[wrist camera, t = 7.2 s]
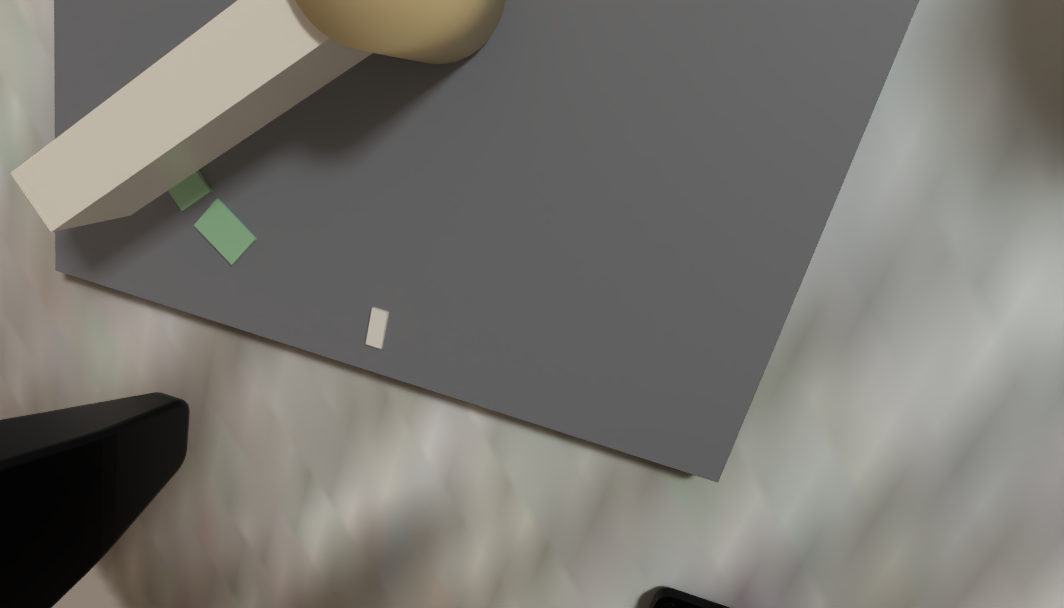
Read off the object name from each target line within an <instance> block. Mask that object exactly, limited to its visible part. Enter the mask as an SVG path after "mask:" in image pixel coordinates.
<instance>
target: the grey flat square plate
mask: <svg viewBox="0 0 1064 608" xmlns="http://www.w3.org/2000/svg"><path fill="white" fill-rule="evenodd" d="M236 1H237V0H54V33H55V139H56V138H57V137H58V136H60V135H61V134H62V133H64V132H65V131H66V130H68V129H69V128H70V127H72V126H73V125H74V124H75V123H77V122H78V121H79V120H81V119H82V118H83V117H85V116H86V115H87V114H89V113H90V112H91V111H93V110H94V109H95V108H96V107H98V106H99V105H100V104H102V103H103V102H104V101H106V100H107V99H108V98H110V97H111V96H112V95H114V94H115V93H116V92H118V91H119V90H120V89H121V88H123V87H124V86H125V85H127V84H128V83H129V82H131V81H132V80H133V79H135V78H136V77H137V76H139V75H140V74H141V73H142V72H144V71H145V70H146V69H148V68H149V67H150V66H152V65H153V64H154V63H156V62H157V61H158V60H160V59H161V58H162V57H164V56H165V55H166V54H167V53H169V52H170V51H171V50H173V49H174V48H175V47H177V46H178V45H179V44H181V43H182V42H183V41H185V40H186V39H187V38H188V37H190V36H191V35H192V34H194V33H195V32H196V31H198V30H199V29H200V28H202V27H203V26H204V25H206V24H207V23H208V22H210V21H211V20H212V19H213V18H215V17H216V16H217V15H219V14H220V13H221V12H223V11H224V10H225V9H227V8H228V7H229V6H231V5H232V4H233V3H234V2H236ZM918 2H919V0H506V1H505V6H504V10H503V13H502V16H501V19H500V21H499V23H498V25H497V27H496V29H495V31H494V32H493V34H492V35H491V37H490V38H489V39H488V40H487V42H486V43H485V44H484V45H483V46H482V47H481V48H480V49H478V50H477V51H476V52H474V53H473V54H472V55H470V56H468V57H466V58H464V59H462V60H459V61H456V62H453V63H448V64H428V63H423V62H418V61H413V60H408V59H402V58H397V57H392V56H387V55H382V54H376V53H372V54H371V55H369V56H368V57H366V58H365V59H363V60H362V61H360V62H359V63H357V64H356V65H354V66H353V67H351V68H350V69H348V70H347V71H345V72H344V73H343V74H341V75H340V76H338V77H337V78H335V79H334V80H332V81H331V82H329V83H328V84H326V85H325V86H323V87H322V88H320V89H319V90H317V91H316V92H314V93H313V94H311V95H310V96H308V97H307V98H305V99H304V100H302V101H301V102H299V103H298V104H296V105H295V106H293V107H292V108H290V109H289V110H287V111H286V112H284V113H283V114H281V115H280V116H278V117H277V118H275V119H274V120H272V121H271V122H269V123H268V124H266V125H265V126H263V127H262V128H260V129H259V130H257V131H256V132H254V133H253V134H251V135H250V136H248V137H247V138H245V139H244V140H242V141H241V142H239V143H238V144H237V145H235V146H234V147H232V148H231V149H229V150H228V151H226V152H225V153H223V154H222V155H220V156H219V157H217V158H216V159H214V160H213V161H211V162H210V163H208V164H207V165H205V166H204V167H202V168H201V169H199V170H198V171H196V172H195V173H193V174H192V175H190V176H189V177H187V178H186V179H184V180H183V181H181V182H180V183H178V184H177V185H175V186H174V187H172V188H171V189H169V190H168V191H166V192H165V193H163V194H162V195H160V196H159V197H157V198H156V199H154V200H153V201H151V202H150V203H148V204H147V205H145V206H144V207H142V208H141V209H139V210H138V211H136V212H135V213H133V214H132V215H131V216H126V217H121V218H116V219H112V220H107V221H102V222H97V223H92V224H88V225H83V226H78V227H73V228H69V229H64V230H59V231H55V249H56V271H59V272H62V273H65V274H68V275H72V276H75V277H78V278H81V279H84V280H87V281H90V282H93V283H97V284H100V285H103V286H106V287H109V288H112V289H115V290H118V291H122V292H125V293H128V294H131V295H134V296H137V297H140V298H143V299H147V300H150V301H153V302H156V303H159V304H162V305H165V306H168V307H171V308H175V309H178V310H181V311H184V312H187V313H190V314H193V315H196V316H200V317H203V318H206V319H209V320H212V321H215V322H218V323H221V324H225V325H228V326H231V327H234V328H237V329H240V330H243V331H246V332H250V333H253V334H256V335H259V336H262V337H265V338H268V339H271V340H275V341H278V342H281V343H284V344H287V345H290V346H293V347H296V348H300V349H303V350H306V351H309V352H312V353H315V354H318V355H321V356H325V357H328V358H331V359H334V360H337V361H340V362H343V363H346V364H350V365H353V366H356V367H359V368H362V369H365V370H368V371H371V372H374V373H378V374H381V375H384V376H387V377H390V378H393V379H396V380H399V381H403V382H406V383H409V384H412V385H415V386H418V387H421V388H424V389H428V390H431V391H434V392H437V393H440V394H443V395H446V396H449V397H453V398H456V399H459V400H462V401H465V402H468V403H471V404H474V405H478V406H481V407H484V408H487V409H490V410H493V411H496V412H499V413H503V414H506V415H509V416H512V417H515V418H518V419H521V420H524V421H528V422H531V423H534V424H537V425H540V426H543V427H546V428H549V429H553V430H556V431H559V432H562V433H565V434H568V435H571V436H574V437H577V438H581V439H584V440H587V441H590V442H593V443H596V444H599V445H602V446H606V447H609V448H612V449H615V450H618V451H621V452H624V453H627V454H631V455H634V456H637V457H640V458H643V459H646V460H649V461H652V462H656V463H659V464H662V465H665V466H668V467H671V468H674V469H677V470H681V471H684V472H687V473H690V474H693V475H696V476H699V477H702V478H706V479H709V480H712V481H715V482H718V481H719V479H720V476H721V474H722V472H723V469H724V467H725V464H726V462H727V460H728V457H729V455H730V452H731V450H732V448H733V445H734V443H735V440H736V438H737V436H738V433H739V431H740V428H741V426H742V424H743V421H744V419H745V416H746V414H747V412H748V409H749V407H750V404H751V402H752V400H753V397H754V395H755V392H756V390H757V388H758V385H759V383H760V381H761V378H762V376H763V373H764V371H765V369H766V366H767V364H768V361H769V359H770V357H771V354H772V352H773V349H774V347H775V345H776V342H777V340H778V337H779V335H780V333H781V330H782V328H783V325H784V323H785V321H786V318H787V316H788V313H789V311H790V309H791V306H792V304H793V301H794V299H795V297H796V294H797V292H798V289H799V287H800V285H801V282H802V280H803V277H804V275H805V273H806V270H807V268H808V265H809V263H810V261H811V258H812V256H813V254H814V251H815V249H816V246H817V244H818V242H819V239H820V237H821V234H822V232H823V230H824V227H825V225H826V222H827V220H828V218H829V215H830V213H831V210H832V208H833V206H834V203H835V201H836V198H837V196H838V194H839V191H840V189H841V186H842V184H843V182H844V179H845V177H846V174H847V172H848V170H849V167H850V165H851V162H852V160H853V158H854V155H855V153H856V150H857V148H858V146H859V143H860V141H861V138H862V136H863V134H864V131H865V129H866V126H867V124H868V122H869V119H870V117H871V115H872V112H873V110H874V107H875V105H876V103H877V100H878V98H879V95H880V93H881V91H882V88H883V86H884V83H885V81H886V79H887V76H888V74H889V71H890V69H891V67H892V64H893V62H894V59H895V57H896V55H897V52H898V50H899V47H900V45H901V43H902V40H903V38H904V35H905V33H906V31H907V28H908V26H909V23H910V21H911V19H912V16H913V14H914V11H915V9H916V7H917V4H918Z"/></svg>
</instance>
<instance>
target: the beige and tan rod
mask: <svg viewBox="0 0 1064 608" xmlns="http://www.w3.org/2000/svg"><path fill="white" fill-rule="evenodd" d="M505 1H506V0H237V1H236V2H234V3H233V4H232V5H231V6H229V7H228V8H227V9H225V10H224V11H223V12H221V13H220V14H219V15H217V16H216V17H215V18H213V19H212V20H211V21H210V22H208V23H207V24H206V25H204V26H203V27H202V28H200V29H199V30H198V31H196V32H195V33H194V34H192V35H191V36H190V37H188V38H187V39H186V40H185V41H183V42H182V43H181V44H179V45H178V46H177V47H175V48H174V49H173V50H171V51H170V52H169V53H167V54H166V55H165V56H164V57H162V58H161V59H160V60H158V61H157V62H156V63H154V64H153V65H152V66H150V67H149V68H148V69H146V70H145V71H144V72H142V73H141V74H140V75H139V76H137V77H136V78H135V79H133V80H132V81H131V82H129V83H128V84H127V85H125V86H124V87H123V88H121V89H120V90H119V91H118V92H116V93H115V94H114V95H112V96H111V97H110V98H108V99H107V100H106V101H104V102H103V103H102V104H100V105H99V106H98V107H96V108H95V109H94V110H93V111H91V112H90V113H89V114H87V115H86V116H85V117H83V118H82V119H81V120H79V121H78V122H77V123H75V124H74V125H73V126H72V127H70V128H69V129H68V130H66V131H65V132H64V133H62V134H61V135H60V136H58V137H57V138H56V139H54V140H53V141H52V142H50V143H49V144H48V145H47V146H45V147H44V148H43V149H41V150H40V151H39V152H37V153H36V154H35V155H33V156H32V157H31V158H29V159H28V160H27V161H26V162H24V163H23V164H22V165H20V166H19V167H18V168H16V169H15V170H14V171H12V172H11V175H12V176H13V178H14V179H15V181H16V182H17V184H18V185H19V186H20V188H21V189H22V191H23V192H24V194H25V195H26V197H27V198H28V199H29V201H30V202H31V204H32V205H33V207H34V208H35V210H36V211H37V213H38V214H39V215H40V217H41V218H42V220H43V221H44V223H45V224H46V226H47V227H48V228H49V230H50V231H51V232H54V231H59V230H64V229H69V228H73V227H78V226H83V225H88V224H92V223H97V222H102V221H107V220H112V219H116V218H121V217H126V216H131V215H132V214H133V213H135V212H136V211H138V210H139V209H141V208H142V207H144V206H145V205H147V204H148V203H150V202H151V201H153V200H154V199H156V198H157V197H159V196H160V195H162V194H163V193H165V192H166V191H168V190H169V189H171V188H172V187H174V186H175V185H177V184H178V183H180V182H181V181H183V180H184V179H186V178H187V177H189V176H190V175H192V174H193V173H195V172H196V171H198V170H199V169H201V168H202V167H204V166H205V165H207V164H208V163H210V162H211V161H213V160H214V159H216V158H217V157H219V156H220V155H222V154H223V153H225V152H226V151H228V150H229V149H231V148H232V147H234V146H235V145H237V144H238V143H239V142H241V141H242V140H244V139H245V138H247V137H248V136H250V135H251V134H253V133H254V132H256V131H257V130H259V129H260V128H262V127H263V126H265V125H266V124H268V123H269V122H271V121H272V120H274V119H275V118H277V117H278V116H280V115H281V114H283V113H284V112H286V111H287V110H289V109H290V108H292V107H293V106H295V105H296V104H298V103H299V102H301V101H302V100H304V99H305V98H307V97H308V96H310V95H311V94H313V93H314V92H316V91H317V90H319V89H320V88H322V87H323V86H325V85H326V84H328V83H329V82H331V81H332V80H334V79H335V78H337V77H338V76H340V75H341V74H343V73H344V72H345V71H347V70H348V69H350V68H351V67H353V66H354V65H356V64H357V63H359V62H360V61H362V60H363V59H365V58H366V57H368V56H369V55H371V54H372V53H376V54H382V55H387V56H392V57H397V58H402V59H408V60H413V61H418V62H423V63H428V64H448V63H453V62H456V61H459V60H462V59H464V58H466V57H468V56H470V55H472V54H473V53H474V52H476V51H477V50H478V49H480V48H481V47H482V46H483V45H484V44H485V43H486V42H487V40H488V39H489V38H490V37H491V35H492V34H493V32H494V31H495V29H496V27H497V25H498V23H499V21H500V19H501V16H502V13H503V10H504V6H505Z"/></svg>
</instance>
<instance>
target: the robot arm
mask: <svg viewBox="0 0 1064 608" xmlns="http://www.w3.org/2000/svg"><path fill="white" fill-rule="evenodd" d="M189 414H190V413H189V406H188V404H187V403H186V402H185V401H184V400H182V399H179V398H176V397H173V396H170V395H167V394H164V393H158V392H157V393H150V394H144V395H139V396H133V397H127V398H122V399H116V400H110V401H105V402H99V403H93V404H88V405H82V406H77V407H71V408H65V409H60V410H54V411H48V412H43V413H37V414H31V415H26V416H20V417H15V418H9V419H3V420H0V608H51V607H52V606H53V605H55V604H56V603H57V602H58V601H59V600H60V599H61V597H63V595H65V594H66V593H67V592H68V591H69V590H70V589H71V588H72V587H73V586H74V585H75V584H76V583H77V582H78V581H79V580H80V579H81V578H82V577H84V576H85V575H86V574H87V573H88V572H89V571H90V570H91V568H92V567H93V566H94V565H95V564H96V563H97V562H98V561H99V560H100V559H101V558H102V557H103V556H104V555H105V554H106V553H107V552H108V551H109V550H110V548H111V547H112V546H113V545H114V544H115V543H116V542H117V541H118V539H119V538H120V537H121V536H122V535H123V534H124V532H125V531H126V530H127V529H128V528H129V527H130V526H131V524H132V523H133V522H134V521H135V520H136V519H137V517H138V516H139V515H140V514H141V513H142V512H143V510H144V509H145V508H146V507H147V506H148V505H149V503H150V502H151V501H152V500H153V499H154V498H155V496H156V495H157V494H158V493H159V492H160V491H161V489H162V488H163V487H164V486H165V485H166V484H167V482H168V481H169V480H170V479H171V478H172V477H173V475H174V474H175V473H176V472H177V471H178V469H179V468H180V467H181V465H182V463H183V461H184V459H185V456H186V452H187V442H188V428H189ZM666 603H672V604H674V605H675V606H672V607H668V606H665V605H664V604H666ZM650 608H729V607H726V606H723V605H720V604H717V603H714V602H711V601H708V600H705V599H702V598H699V597H696V596H693V595H690V594H687V593H684V592H681V591H678V590H675V589H671V588H664V589H661V590H659V591H657V593H656V594H655V596H654V598H653V600H652V603H651V605H650Z"/></svg>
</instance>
